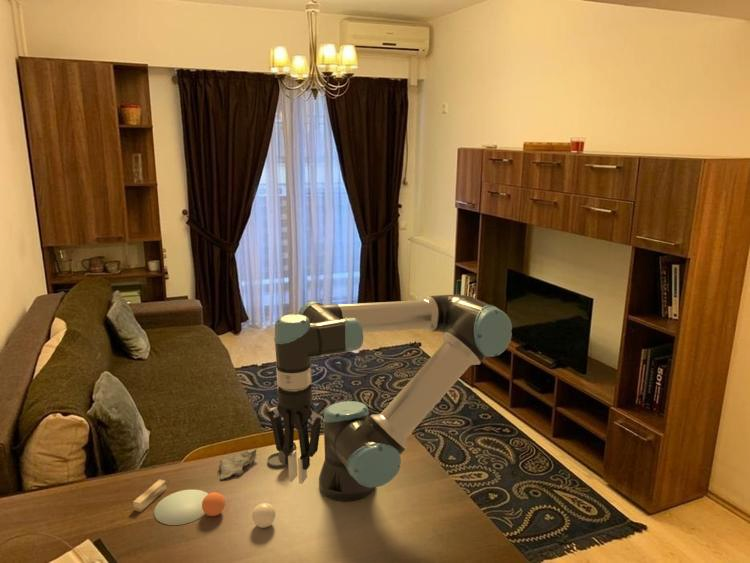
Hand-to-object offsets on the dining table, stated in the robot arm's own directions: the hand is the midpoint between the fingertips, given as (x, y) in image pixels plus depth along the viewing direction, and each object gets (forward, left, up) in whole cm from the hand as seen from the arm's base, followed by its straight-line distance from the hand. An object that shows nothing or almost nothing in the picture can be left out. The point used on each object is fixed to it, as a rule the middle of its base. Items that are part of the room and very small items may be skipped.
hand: (298, 479), depth 128 cm
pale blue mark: (+25, -21, -14) cm, 36 cm away
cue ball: (+7, -6, -12) cm, 15 cm away
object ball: (+18, -15, -12) cm, 26 cm away
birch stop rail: (+33, -27, -14) cm, 45 cm away
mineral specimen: (+10, -33, -15) cm, 38 cm away
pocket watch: (-3, -31, -15) cm, 35 cm away
